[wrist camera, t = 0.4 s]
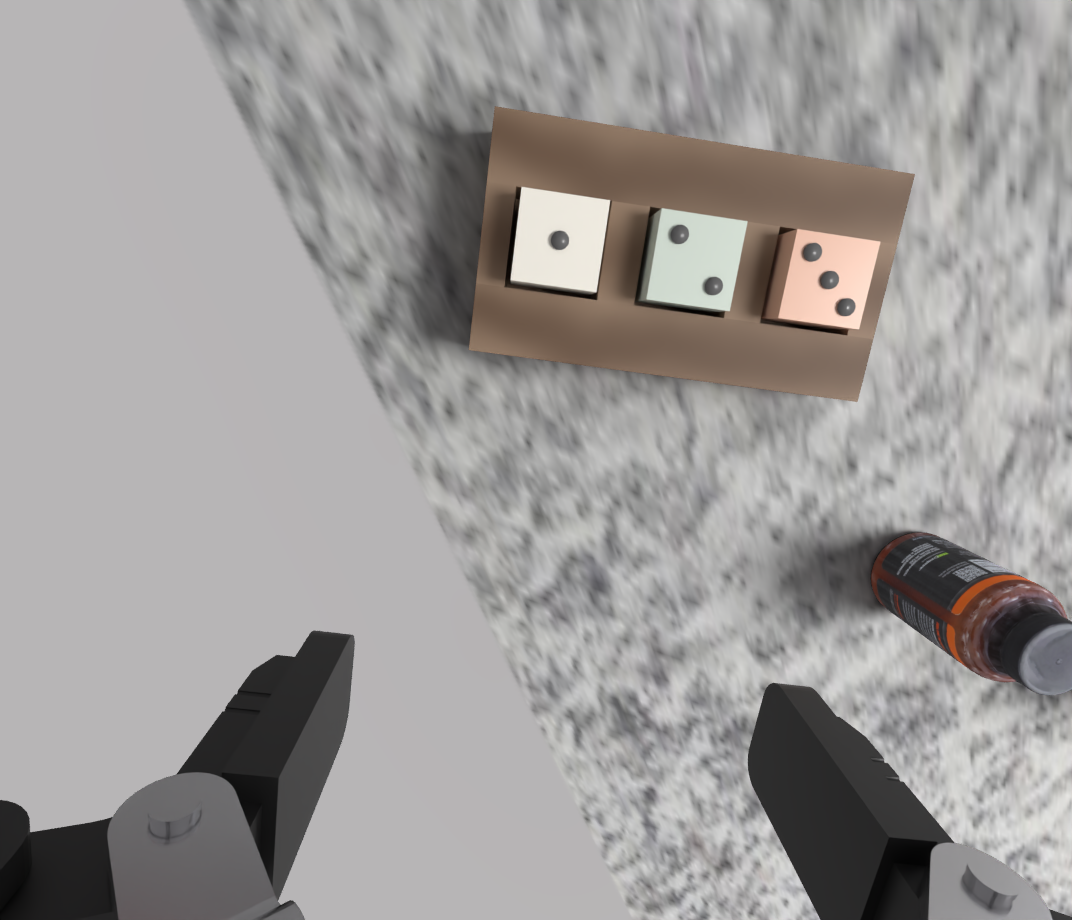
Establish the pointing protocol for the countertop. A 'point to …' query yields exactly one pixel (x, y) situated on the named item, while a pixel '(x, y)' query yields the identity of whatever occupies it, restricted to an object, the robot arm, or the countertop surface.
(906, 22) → the countertop surface
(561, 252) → the button
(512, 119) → the button panel
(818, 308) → the button
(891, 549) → the supplement bottle
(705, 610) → the countertop surface
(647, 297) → the button
